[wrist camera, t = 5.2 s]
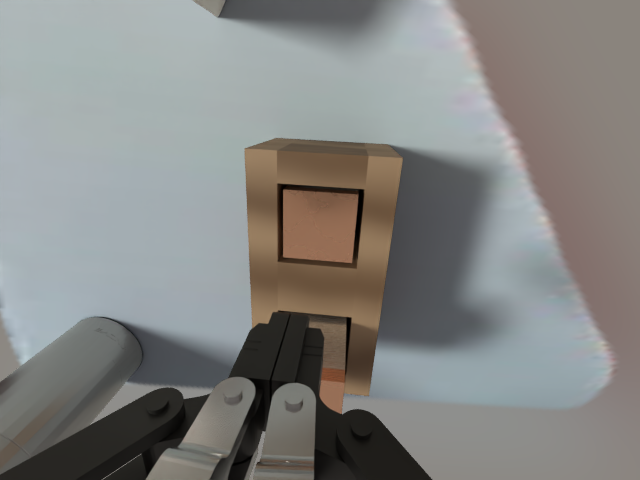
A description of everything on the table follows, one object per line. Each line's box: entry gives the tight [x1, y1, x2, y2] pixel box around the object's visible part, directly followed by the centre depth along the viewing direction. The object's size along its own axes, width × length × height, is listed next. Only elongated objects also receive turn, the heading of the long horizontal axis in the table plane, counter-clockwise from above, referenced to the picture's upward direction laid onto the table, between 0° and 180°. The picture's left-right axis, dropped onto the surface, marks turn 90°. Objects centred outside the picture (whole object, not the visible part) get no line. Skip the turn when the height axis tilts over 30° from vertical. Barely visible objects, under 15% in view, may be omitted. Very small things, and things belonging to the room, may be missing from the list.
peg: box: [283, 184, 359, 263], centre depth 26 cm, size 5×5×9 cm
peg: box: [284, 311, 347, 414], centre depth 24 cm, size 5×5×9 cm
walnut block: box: [245, 138, 403, 396], centre depth 28 cm, size 20×10×9 cm, turn 177°
